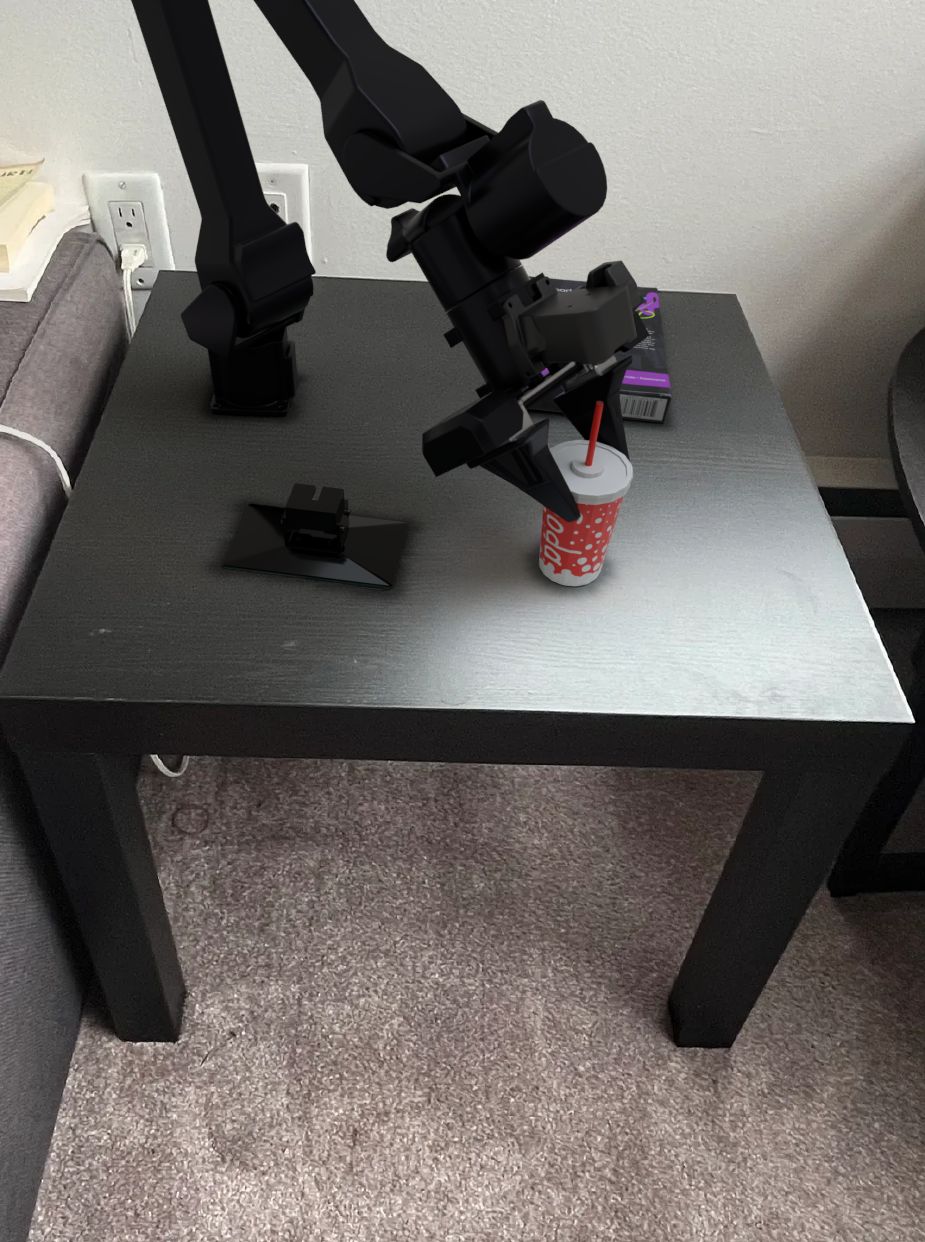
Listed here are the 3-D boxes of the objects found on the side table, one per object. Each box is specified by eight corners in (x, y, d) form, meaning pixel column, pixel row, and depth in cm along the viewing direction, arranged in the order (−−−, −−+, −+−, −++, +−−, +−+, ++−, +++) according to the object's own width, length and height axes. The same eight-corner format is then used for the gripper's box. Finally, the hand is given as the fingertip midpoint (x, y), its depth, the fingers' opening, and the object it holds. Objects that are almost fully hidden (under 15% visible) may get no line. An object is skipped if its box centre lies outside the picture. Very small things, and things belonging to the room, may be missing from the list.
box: (664, 429, 86) (653, 315, 99) (673, 395, 83) (661, 282, 97) (506, 412, 86) (516, 300, 99) (510, 378, 84) (520, 268, 97)
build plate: (409, 527, 75) (410, 478, 71) (392, 593, 70) (392, 544, 66) (249, 506, 75) (243, 457, 72) (220, 570, 70) (212, 520, 67)
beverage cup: (512, 551, 73) (533, 389, 63) (580, 528, 75) (611, 368, 65) (557, 604, 69) (587, 441, 59) (627, 577, 72) (667, 416, 61)
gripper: (470, 288, 51) (612, 540, 55) (652, 185, 62) (761, 402, 65) (361, 363, 60) (489, 577, 64) (536, 262, 71) (638, 450, 74)
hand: (600, 497), depth 67 cm, fingers closed on beverage cup, 6 cm apart
